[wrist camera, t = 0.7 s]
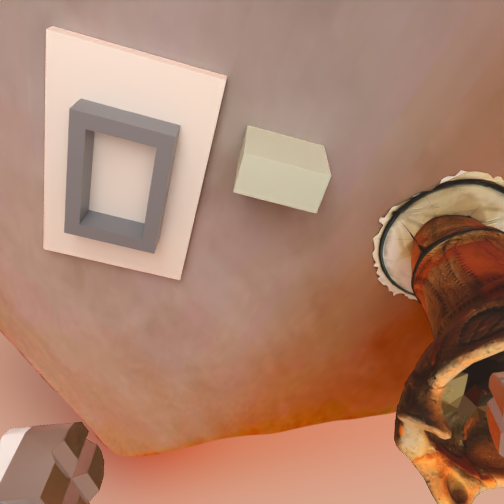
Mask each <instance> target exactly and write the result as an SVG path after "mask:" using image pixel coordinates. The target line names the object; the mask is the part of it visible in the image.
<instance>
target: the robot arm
mask: <svg viewBox="0 0 504 504" xmlns="http://www.w3.org/2000/svg"><path fill="white" fill-rule="evenodd" d="M489 389H490V391H491V393H492V395H493V398H491V399H490V400H489V401H488V402H487V420H488V425H489V430H490V433H491V436H492V439H493V442H494V444H495V446H496V449H497V451H498V453H499V454H500V455H501V456H502V457H504V372H498V373H492V375H491V376H490V379H489ZM87 435H88V430H87V429H86V427H85V426H84V425H83V423H82V422H75V423H64V424H52V425H40V426H29V427H20V428H11V429H10V430H9V431H8V432H7V433H5V434H4V435H3V436H2V438H1V440H0V504H90V503H89V501H90V500H91V499H92V498H93V497H94V496H95V495H96V494H97V492H98V491H99V490H100V487H101V483H102V480H103V476H104V459H103V455H102V452H101V450H100V448H99V447H98V445H97V444H95V443H93V442H91V441H90V440H88V439H86V437H87Z"/></svg>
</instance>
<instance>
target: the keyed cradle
mask: <svg viewBox="0 0 504 504" xmlns="http://www.w3.org/2000/svg"><path fill="white" fill-rule="evenodd" d="M226 80H227V76H225V75H222V74H218V73H215V72H211V71H208V70H204V69H201V68H197V67H194V66H190V65H187V64H183V63H180V62H176V61H173V60H170V59H166V58H163V57H159V56H156V55H152V54H149V53H145V52H142V51H138V50H135V49H131V48H128V47H124V46H121V45H117V44H114V43H110V42H107V41H103V40H100V39H96V38H93V37H89V36H86V35H82V34H79V33H75V32H72V31H68V30H65V29H61V28H58V27H54V26H52V27H50V28H47V29H46V80H45V163H44V246H43V249H46V250H50V251H54V252H59V253H63V254H67V255H72V256H76V257H81V258H85V259H89V260H94V261H98V262H102V263H107V264H111V265H115V266H120V267H124V268H129V269H133V270H137V271H142V272H146V273H150V274H155V275H159V276H163V277H168V278H172V279H176V280H180V279H181V275H182V271H183V267H184V262H185V258H186V254H187V249H188V245H189V241H190V236H191V232H192V228H193V223H194V219H195V215H196V210H197V206H198V202H199V197H200V193H201V189H202V184H203V180H204V176H205V171H206V167H207V163H208V158H209V154H210V150H211V145H212V141H213V137H214V132H215V128H216V124H217V119H218V115H219V111H220V106H221V102H222V97H223V93H224V89H225V84H226Z"/></svg>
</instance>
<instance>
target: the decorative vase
mask: <svg viewBox="0 0 504 504" xmlns="http://www.w3.org/2000/svg"><path fill="white" fill-rule="evenodd" d="M379 222H380V223H381V224H383V227H382V228H381V230H380V232H379V234H377V235H376V236H375V237H374V238H373V241H374V246H375V250H374V252H373V253H372V255H373V258H374V260H375V261H376V263H375V265H374V267H378V270H377V274H378V275H379V276H380V277H379V278H378V280H379V281H380V282H381V283H382V284H383V285H387V286H388V288H389V291H392V292H393V295H394V296H395V295H396V294H399V293H402V294H405V295H404V296H407V297H408V298H409V299H415V300H418V301H419V302H420V304H421V305H422V306H423V308H424V311H425V313H426V315H427V317H428V319H429V322H430V325H431V329H432V334H433V338H434V341H433V342H432V343H431V344H430V345H429V347H428V348H427V349H426V350H425V351H424V353H423V354H422V356H421V357H420V359H419V361H418V362H417V365H416V367H415V369H414V370H413V372H412V373H411V375H410V376H409V377H408V379H407V381H406V382H405V387H404V390H403V392H402V395H401V398H400V402H399V404H398V406H397V412H396V420H395V433H394V434H395V435H394V440H395V443H396V446H397V447H398V448H399V450H400V451H401V452H402V453H404V454H405V455H406V456H407V457H408V458H409V459H410V460H411V461H412V463H413V464H414V466H415V467H416V468H417V470H418V471H419V472H420V474H421V475H422V476H423V477H424V479H425V481H426V483H427V485H428V488H429V490H430V492H431V494H432V496H433V497H434V499H435V501H436V502H437V504H472V502H473V501H474V499H475V497H476V496H477V495H478V494H480V493H481V492H483V491H485V490H488V489H494V488H504V457H502V456H501V455H500V454H499V453H498V451H497V449H496V446H495V444H494V442H493V439H492V436H491V433H490V430H489V425H488V420H487V402H488V401H489V400H490V399H491V398H493V395H492V393H491V391H490V389H489V379H490V376H491V375H492V373H498V372H504V181H503V179H502V177H500V176H497V177H495V178H492V177H491V176H490V175H489V174H488V173H482V172H477V171H475V172H466V171H462V170H460V172H459V173H458V174H457V175H456V176H447V177H445V178H443V179H442V180H441V182H440V183H439V185H438V186H436V187H435V188H434V189H433V190H432V191H426V192H421V193H418V194H416V195H414V196H413V197H412V198H410V199H409V200H407V201H405V202H403V203H401V204H400V205H398V206H393V207H392V208H391V209H390V211H389V212H388V214H387V215H386V216H385V218H382V217H380V219H379Z"/></svg>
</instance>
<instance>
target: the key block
mask: <svg viewBox="0 0 504 504" xmlns="http://www.w3.org/2000/svg"><path fill="white" fill-rule="evenodd" d="M330 178H331V172H330V168H329V164H328V160H327V156H326V151H325V147H324V146H323V145H319V144H315V143H312V142H308V141H304V140H301V139H297V138H293V137H290V136H286V135H283V134H279V133H275V132H272V131H268V130H264V129H261V128H257V127H254V126H250V125H247V129H246V133H245V136H244V140H243V144H242V148H241V151H240V155H239V159H238V163H237V170H236V177H235V183H234V190H233V192H234V193H238V194H242V195H246V196H249V197H253V198H257V199H261V200H265V201H269V202H273V203H277V204H281V205H285V206H288V207H292V208H296V209H300V210H304V211H308V212H312V213H317V210H318V208H319V205H320V203H321V201H322V198H323V196H324V193H325V191H326V188H327V186H328V183H329V181H330Z"/></svg>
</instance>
